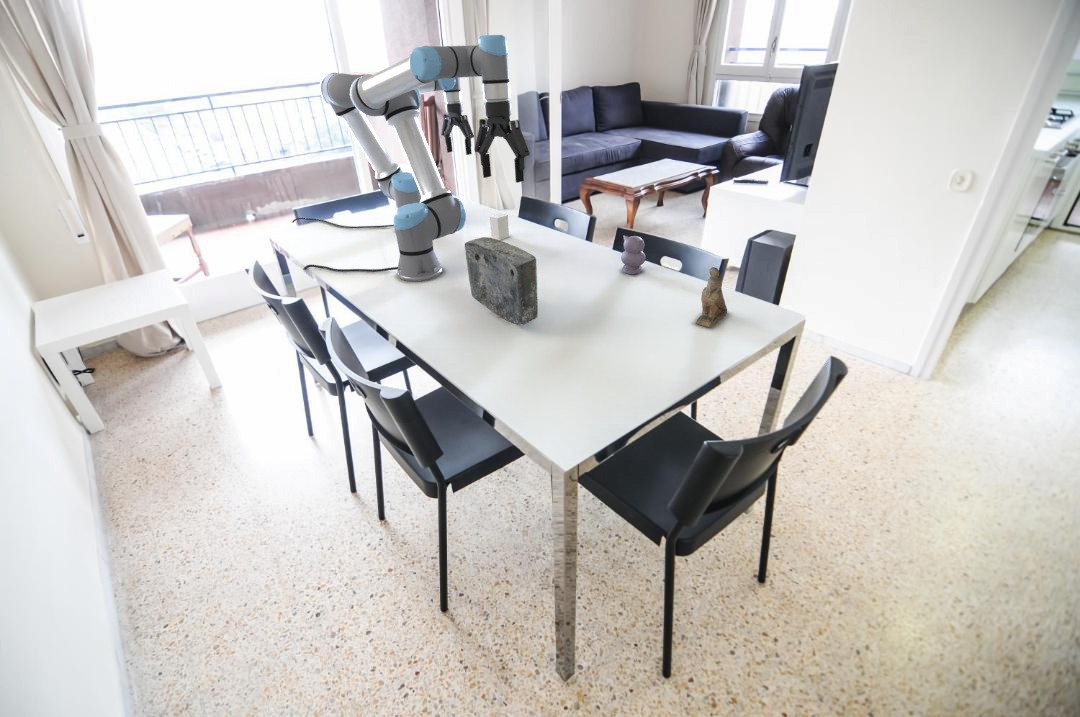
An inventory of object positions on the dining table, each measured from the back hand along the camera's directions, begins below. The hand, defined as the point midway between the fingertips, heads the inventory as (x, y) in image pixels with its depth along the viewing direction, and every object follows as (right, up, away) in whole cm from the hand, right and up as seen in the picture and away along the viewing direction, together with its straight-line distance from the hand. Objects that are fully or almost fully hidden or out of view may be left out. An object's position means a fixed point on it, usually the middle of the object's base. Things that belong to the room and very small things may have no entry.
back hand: (459, 153), depth 234 cm
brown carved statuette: (+86, -85, -94) cm, 154 cm away
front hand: (+27, -42, -83) cm, 97 cm away
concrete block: (+28, -84, -88) cm, 124 cm away
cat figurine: (+70, -66, -62) cm, 115 cm away
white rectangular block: (+21, -46, -25) cm, 56 cm away
